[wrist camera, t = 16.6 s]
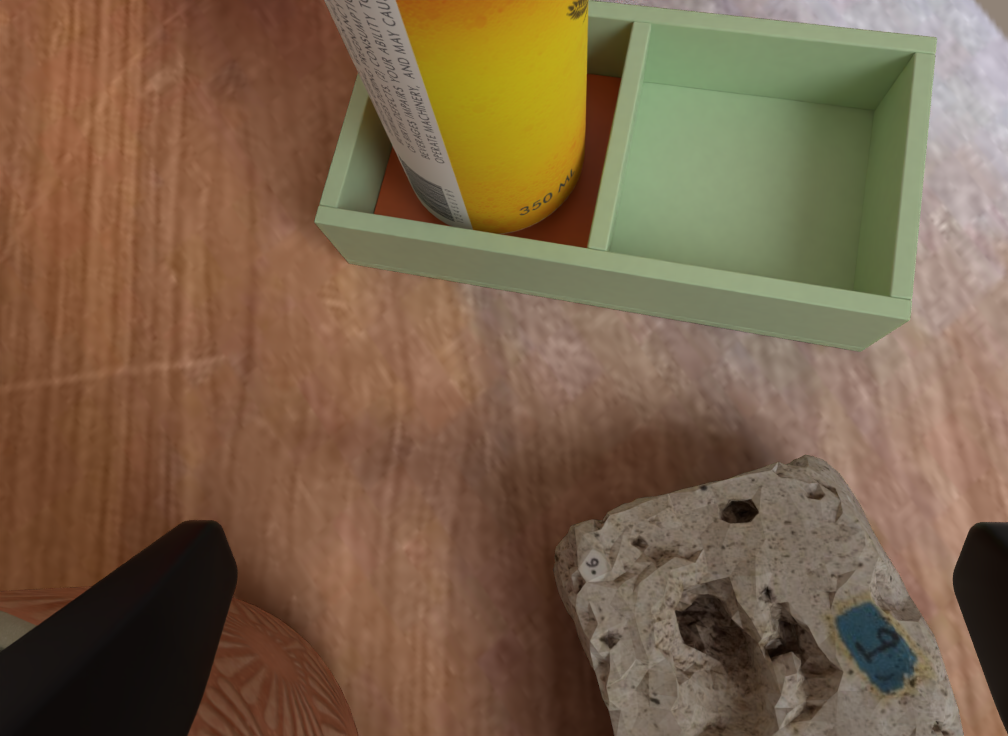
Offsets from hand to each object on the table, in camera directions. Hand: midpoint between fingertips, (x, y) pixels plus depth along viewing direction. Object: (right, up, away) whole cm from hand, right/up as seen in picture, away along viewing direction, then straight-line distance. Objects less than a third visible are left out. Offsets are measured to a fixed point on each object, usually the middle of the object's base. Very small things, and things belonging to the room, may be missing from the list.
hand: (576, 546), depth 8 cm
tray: (+3, +9, +16) cm, 18 cm away
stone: (+6, -7, +12) cm, 15 cm away
